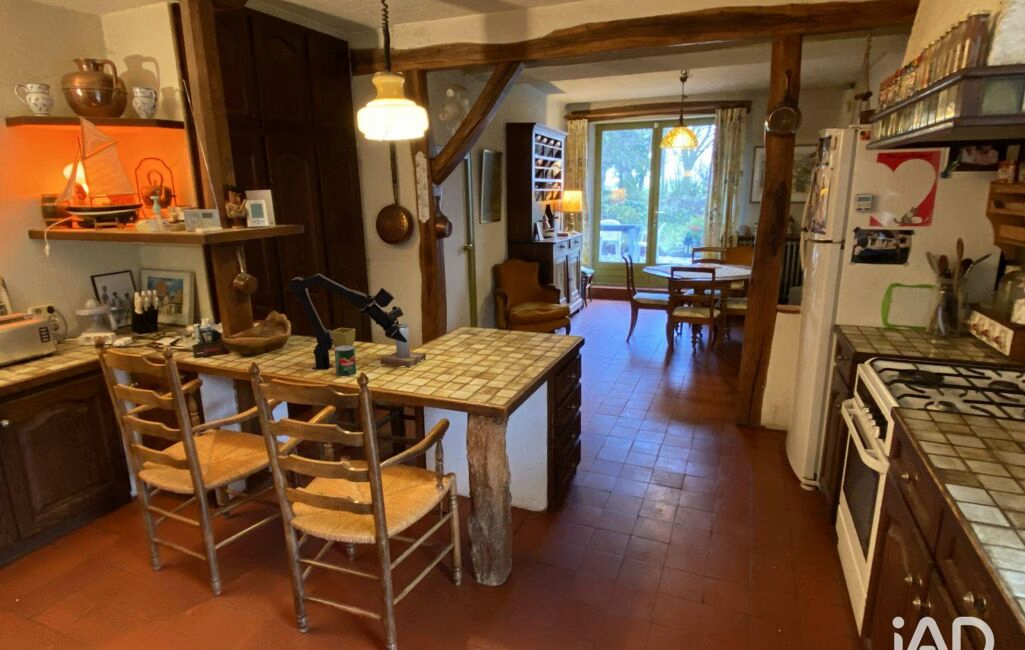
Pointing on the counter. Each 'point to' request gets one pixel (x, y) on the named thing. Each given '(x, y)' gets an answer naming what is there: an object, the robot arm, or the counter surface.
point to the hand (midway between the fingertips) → (405, 339)
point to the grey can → (403, 347)
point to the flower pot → (343, 336)
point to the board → (403, 359)
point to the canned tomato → (345, 360)
